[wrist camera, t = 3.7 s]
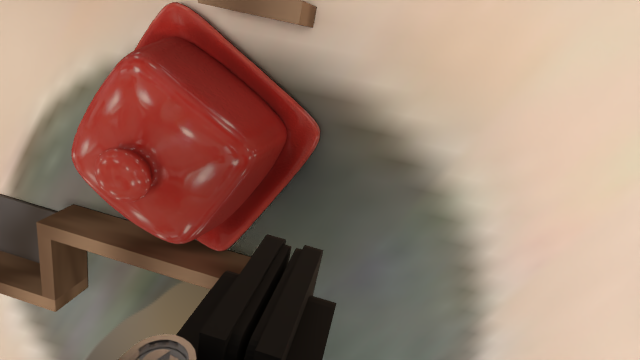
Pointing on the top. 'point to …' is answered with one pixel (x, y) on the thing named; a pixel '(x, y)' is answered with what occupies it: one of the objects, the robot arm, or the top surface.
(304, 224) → the top surface
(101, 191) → the butter dish
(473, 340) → the top surface
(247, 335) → the robot arm
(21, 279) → the trap lane
